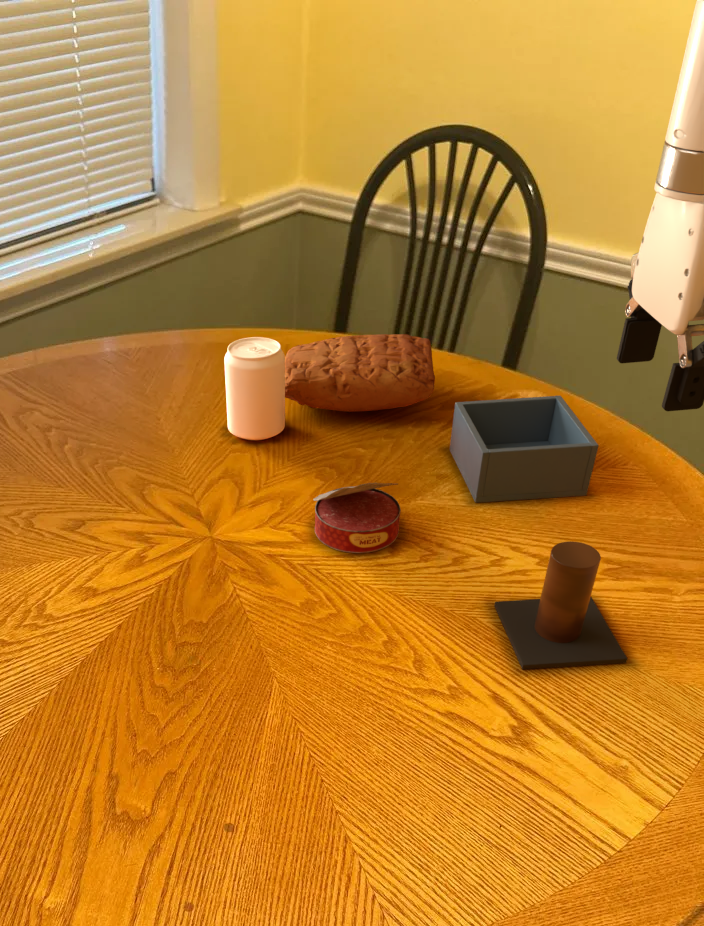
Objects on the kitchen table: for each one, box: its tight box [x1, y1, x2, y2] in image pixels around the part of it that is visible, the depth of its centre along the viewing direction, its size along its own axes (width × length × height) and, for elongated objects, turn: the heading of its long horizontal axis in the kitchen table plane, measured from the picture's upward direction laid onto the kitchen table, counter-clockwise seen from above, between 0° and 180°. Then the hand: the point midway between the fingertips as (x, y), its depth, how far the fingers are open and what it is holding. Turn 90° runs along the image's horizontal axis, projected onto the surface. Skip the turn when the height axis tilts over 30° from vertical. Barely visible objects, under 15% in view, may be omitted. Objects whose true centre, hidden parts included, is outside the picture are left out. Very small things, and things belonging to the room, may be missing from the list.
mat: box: [493, 596, 628, 670], centre depth 89 cm, size 10×10×1 cm
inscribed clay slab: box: [285, 333, 436, 412], centre depth 129 cm, size 22×17×8 cm
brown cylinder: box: [535, 540, 602, 643], centre depth 86 cm, size 4×4×9 cm
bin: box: [449, 395, 599, 504], centre depth 111 cm, size 14×14×7 cm
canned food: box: [313, 482, 402, 554], centre depth 103 cm, size 11×10×10 cm
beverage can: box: [223, 336, 286, 441], centre depth 122 cm, size 8×8×12 cm
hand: (656, 383), depth 78 cm, fingers open, 9 cm apart
